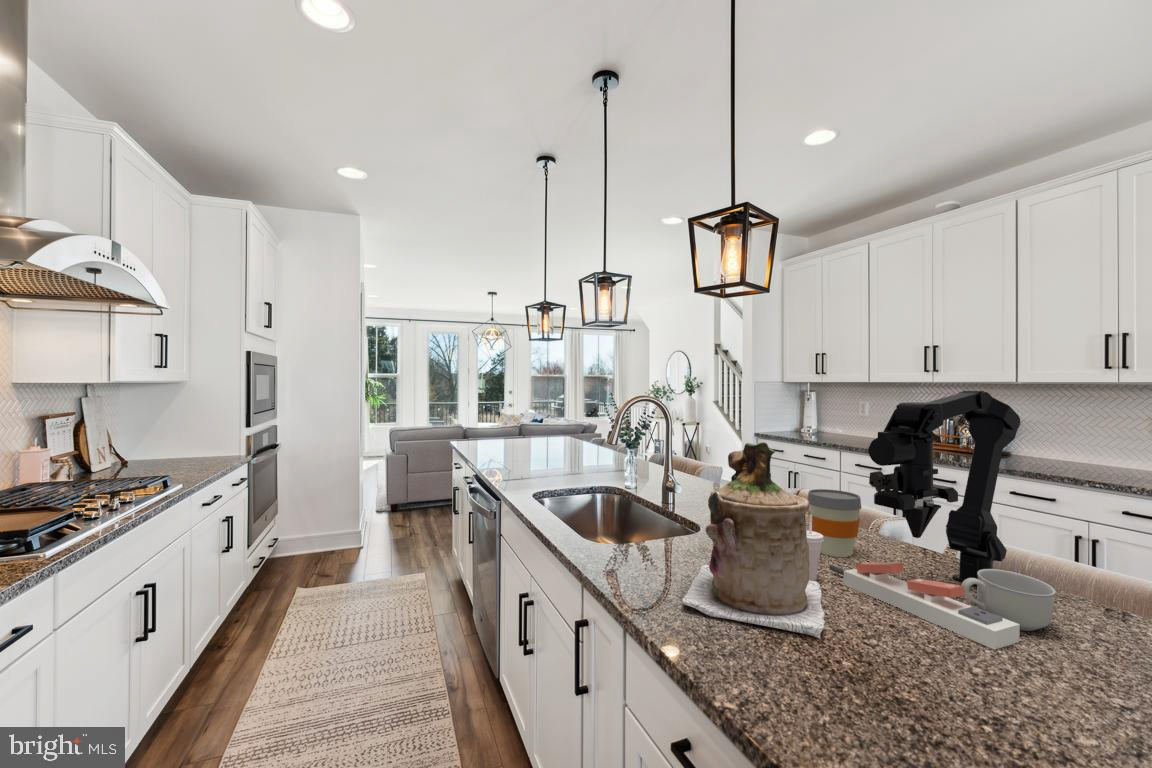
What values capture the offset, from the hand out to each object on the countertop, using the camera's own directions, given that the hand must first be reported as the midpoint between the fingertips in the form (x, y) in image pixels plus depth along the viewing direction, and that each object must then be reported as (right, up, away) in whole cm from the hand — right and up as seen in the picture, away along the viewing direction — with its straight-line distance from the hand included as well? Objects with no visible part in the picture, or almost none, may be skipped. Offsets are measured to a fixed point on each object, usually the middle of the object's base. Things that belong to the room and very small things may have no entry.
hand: (916, 537), depth 103 cm
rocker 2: (-4, -6, -10) cm, 13 cm away
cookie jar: (-36, -11, -5) cm, 38 cm away
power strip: (-6, -11, -5) cm, 14 cm away
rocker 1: (-8, -6, 0) cm, 10 cm away
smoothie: (-19, -12, +8) cm, 24 cm away
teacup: (+8, -12, -12) cm, 19 cm away
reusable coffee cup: (-4, -12, +26) cm, 29 cm away
